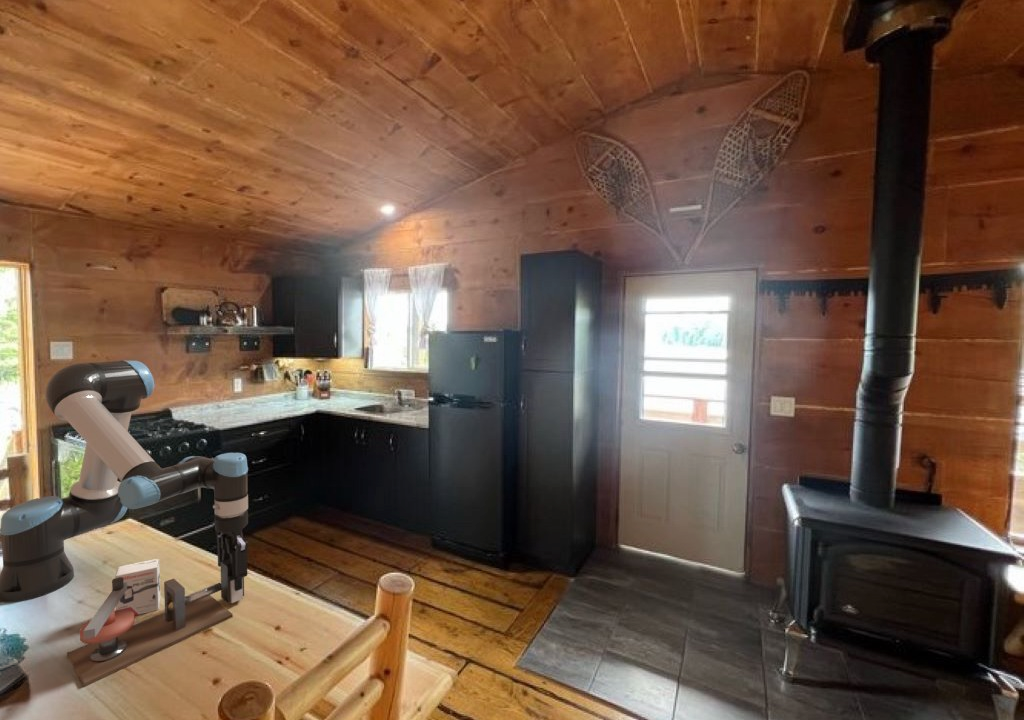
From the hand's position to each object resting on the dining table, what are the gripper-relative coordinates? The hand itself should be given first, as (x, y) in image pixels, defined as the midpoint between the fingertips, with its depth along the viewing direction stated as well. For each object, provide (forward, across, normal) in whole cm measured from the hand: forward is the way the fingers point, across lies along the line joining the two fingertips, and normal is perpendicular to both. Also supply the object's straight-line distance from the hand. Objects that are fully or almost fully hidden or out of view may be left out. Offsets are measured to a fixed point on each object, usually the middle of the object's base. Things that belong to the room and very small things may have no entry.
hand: (232, 596), depth 122 cm
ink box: (+1, -14, -16) cm, 22 cm away
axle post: (+1, 0, -26) cm, 26 cm away
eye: (+1, 0, -13) cm, 13 cm away
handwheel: (-5, 0, -26) cm, 26 cm away
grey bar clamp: (0, 0, -6) cm, 6 cm away
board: (+1, 0, -17) cm, 17 cm away
